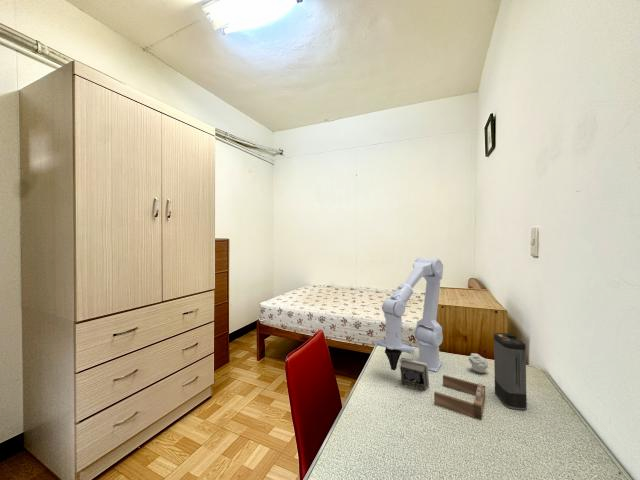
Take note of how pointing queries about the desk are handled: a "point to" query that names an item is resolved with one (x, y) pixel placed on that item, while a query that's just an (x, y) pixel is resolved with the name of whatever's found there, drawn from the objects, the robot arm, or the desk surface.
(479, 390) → the socket dock
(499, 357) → the electronic device
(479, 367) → the grey rounded carved piece
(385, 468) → the desk surface
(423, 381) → the electrical switch
